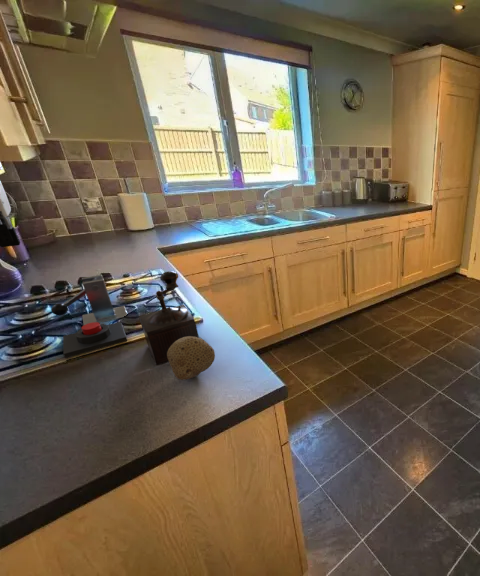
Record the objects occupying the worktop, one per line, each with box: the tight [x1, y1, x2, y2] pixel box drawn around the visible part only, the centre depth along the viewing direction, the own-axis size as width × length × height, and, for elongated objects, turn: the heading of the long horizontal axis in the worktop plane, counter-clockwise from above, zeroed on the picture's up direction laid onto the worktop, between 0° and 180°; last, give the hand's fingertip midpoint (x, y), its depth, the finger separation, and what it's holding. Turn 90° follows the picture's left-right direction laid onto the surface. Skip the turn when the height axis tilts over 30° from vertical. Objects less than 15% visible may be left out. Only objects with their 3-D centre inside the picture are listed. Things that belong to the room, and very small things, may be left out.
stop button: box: [81, 322, 102, 335], centre depth 83 cm, size 4×4×2 cm
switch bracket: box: [81, 274, 128, 326], centre depth 94 cm, size 10×8×13 cm
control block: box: [62, 321, 129, 362], centre depth 84 cm, size 12×10×4 cm
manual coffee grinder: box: [138, 270, 200, 366], centre depth 83 cm, size 16×11×18 cm
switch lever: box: [50, 278, 98, 316], centre depth 90 cm, size 13×3×3 cm, turn 131°
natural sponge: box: [167, 336, 216, 381], centre depth 74 cm, size 9×9×10 cm
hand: (10, 245), depth 77 cm, fingers closed
